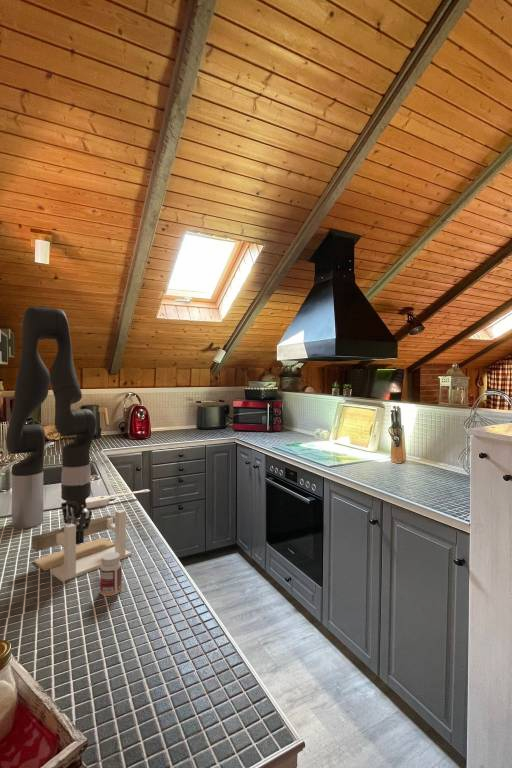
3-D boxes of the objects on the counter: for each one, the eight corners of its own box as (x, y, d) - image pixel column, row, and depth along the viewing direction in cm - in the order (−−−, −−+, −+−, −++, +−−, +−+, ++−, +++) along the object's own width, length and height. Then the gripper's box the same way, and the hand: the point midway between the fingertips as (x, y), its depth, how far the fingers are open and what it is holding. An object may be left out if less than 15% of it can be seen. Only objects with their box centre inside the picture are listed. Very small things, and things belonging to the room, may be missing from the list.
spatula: (146, 494, 168) (146, 488, 168) (152, 498, 164) (152, 491, 164) (75, 507, 151) (75, 499, 151) (79, 511, 147) (79, 503, 147)
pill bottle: (114, 583, 97) (114, 549, 97) (125, 590, 94) (125, 555, 94) (95, 591, 93) (96, 556, 93) (106, 599, 90) (107, 562, 90)
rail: (32, 548, 105) (32, 536, 105) (109, 524, 122) (109, 515, 122) (36, 551, 103) (36, 540, 103) (114, 527, 120) (114, 517, 120)
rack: (49, 572, 102) (49, 522, 102) (117, 548, 117) (117, 504, 116) (62, 581, 97) (62, 529, 97) (131, 555, 112) (131, 510, 112)
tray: (33, 562, 107) (33, 560, 107) (103, 539, 123) (103, 537, 123) (44, 570, 103) (44, 568, 103) (115, 545, 118) (115, 543, 118)
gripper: (51, 478, 114) (51, 539, 114) (74, 488, 105) (74, 553, 105) (77, 474, 120) (77, 531, 120) (101, 482, 110) (101, 544, 111)
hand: (76, 541), depth 112 cm, fingers closed on rail, 3 cm apart
